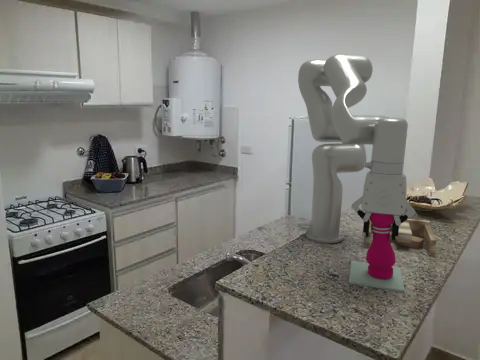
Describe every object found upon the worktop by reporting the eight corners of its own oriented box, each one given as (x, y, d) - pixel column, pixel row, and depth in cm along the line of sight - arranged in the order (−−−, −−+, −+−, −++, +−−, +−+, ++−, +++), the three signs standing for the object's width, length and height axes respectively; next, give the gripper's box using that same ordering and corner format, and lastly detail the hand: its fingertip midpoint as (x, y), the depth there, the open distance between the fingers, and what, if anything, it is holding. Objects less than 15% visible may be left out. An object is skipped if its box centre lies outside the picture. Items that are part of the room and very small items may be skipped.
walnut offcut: (381, 240, 124) (382, 232, 123) (386, 237, 127) (387, 229, 126) (418, 251, 116) (419, 242, 115) (423, 247, 118) (424, 238, 118)
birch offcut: (394, 229, 126) (395, 220, 126) (407, 230, 125) (408, 222, 124) (397, 241, 115) (398, 232, 114) (411, 243, 114) (412, 234, 113)
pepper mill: (360, 274, 98) (361, 202, 93) (373, 265, 103) (375, 195, 98) (387, 283, 93) (390, 206, 88) (399, 272, 98) (402, 199, 93)
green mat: (348, 283, 94) (348, 281, 94) (351, 262, 106) (351, 260, 106) (404, 292, 90) (404, 290, 90) (400, 269, 102) (400, 267, 102)
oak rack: (364, 246, 117) (366, 228, 116) (365, 230, 132) (366, 214, 131) (434, 256, 111) (437, 237, 110) (426, 237, 126) (429, 220, 124)
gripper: (349, 168, 91) (344, 237, 95) (427, 173, 85) (418, 246, 89) (351, 163, 98) (346, 228, 101) (422, 168, 92) (414, 236, 96)
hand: (379, 236), depth 95 cm, fingers open, 5 cm apart
